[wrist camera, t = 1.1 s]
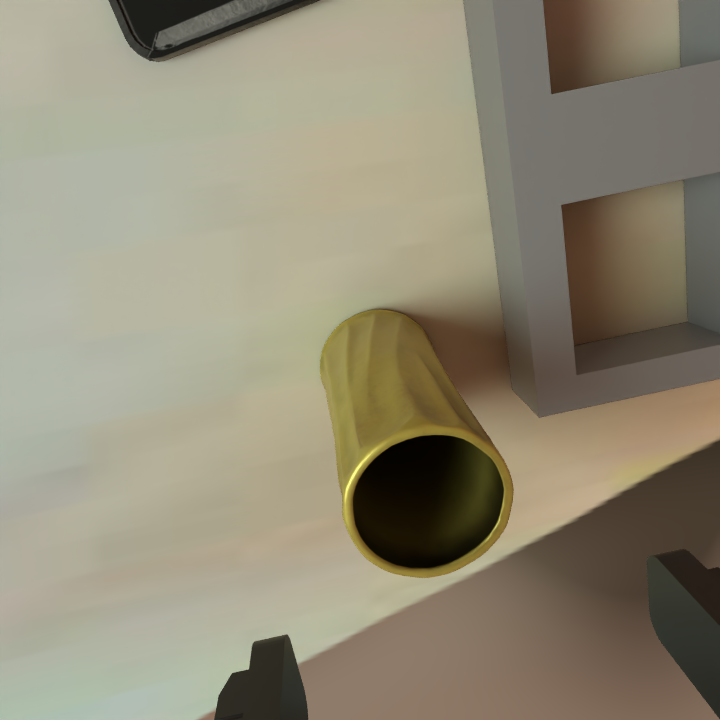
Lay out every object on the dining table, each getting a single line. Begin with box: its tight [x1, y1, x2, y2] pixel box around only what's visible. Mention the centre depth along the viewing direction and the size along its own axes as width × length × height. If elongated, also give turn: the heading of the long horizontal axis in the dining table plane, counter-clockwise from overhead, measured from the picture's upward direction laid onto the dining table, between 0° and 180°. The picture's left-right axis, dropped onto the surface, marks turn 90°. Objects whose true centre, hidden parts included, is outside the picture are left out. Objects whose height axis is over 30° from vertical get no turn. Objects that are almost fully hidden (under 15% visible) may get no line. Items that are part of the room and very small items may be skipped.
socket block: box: [463, 0, 720, 418], centre depth 27 cm, size 24×15×5 cm, turn 11°
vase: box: [320, 309, 514, 578], centre depth 24 cm, size 6×6×14 cm
